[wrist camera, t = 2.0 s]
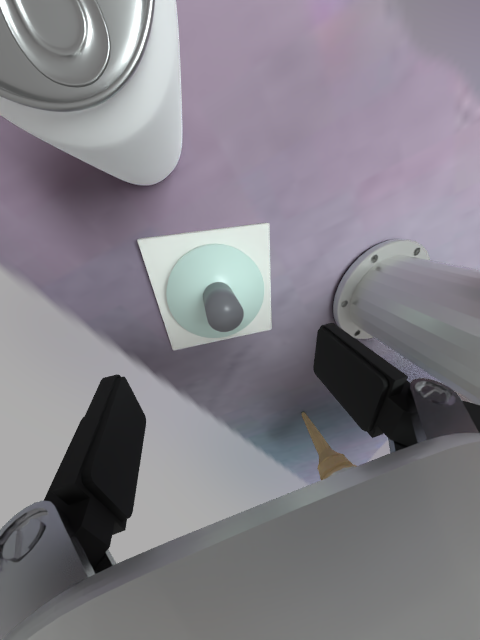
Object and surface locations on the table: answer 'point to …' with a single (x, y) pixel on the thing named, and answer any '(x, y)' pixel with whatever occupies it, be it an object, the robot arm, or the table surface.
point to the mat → (171, 248)
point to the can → (96, 81)
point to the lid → (215, 290)
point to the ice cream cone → (326, 453)
